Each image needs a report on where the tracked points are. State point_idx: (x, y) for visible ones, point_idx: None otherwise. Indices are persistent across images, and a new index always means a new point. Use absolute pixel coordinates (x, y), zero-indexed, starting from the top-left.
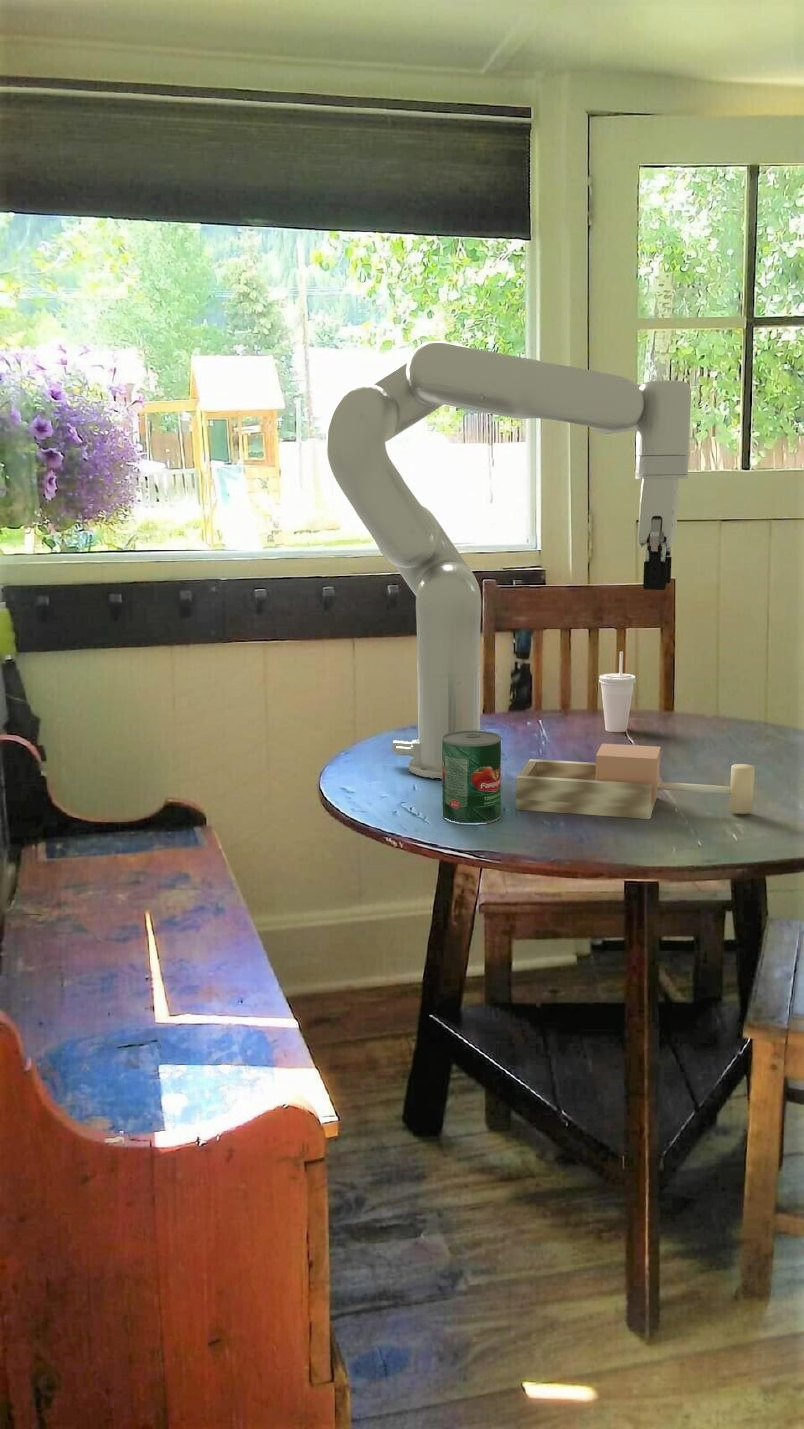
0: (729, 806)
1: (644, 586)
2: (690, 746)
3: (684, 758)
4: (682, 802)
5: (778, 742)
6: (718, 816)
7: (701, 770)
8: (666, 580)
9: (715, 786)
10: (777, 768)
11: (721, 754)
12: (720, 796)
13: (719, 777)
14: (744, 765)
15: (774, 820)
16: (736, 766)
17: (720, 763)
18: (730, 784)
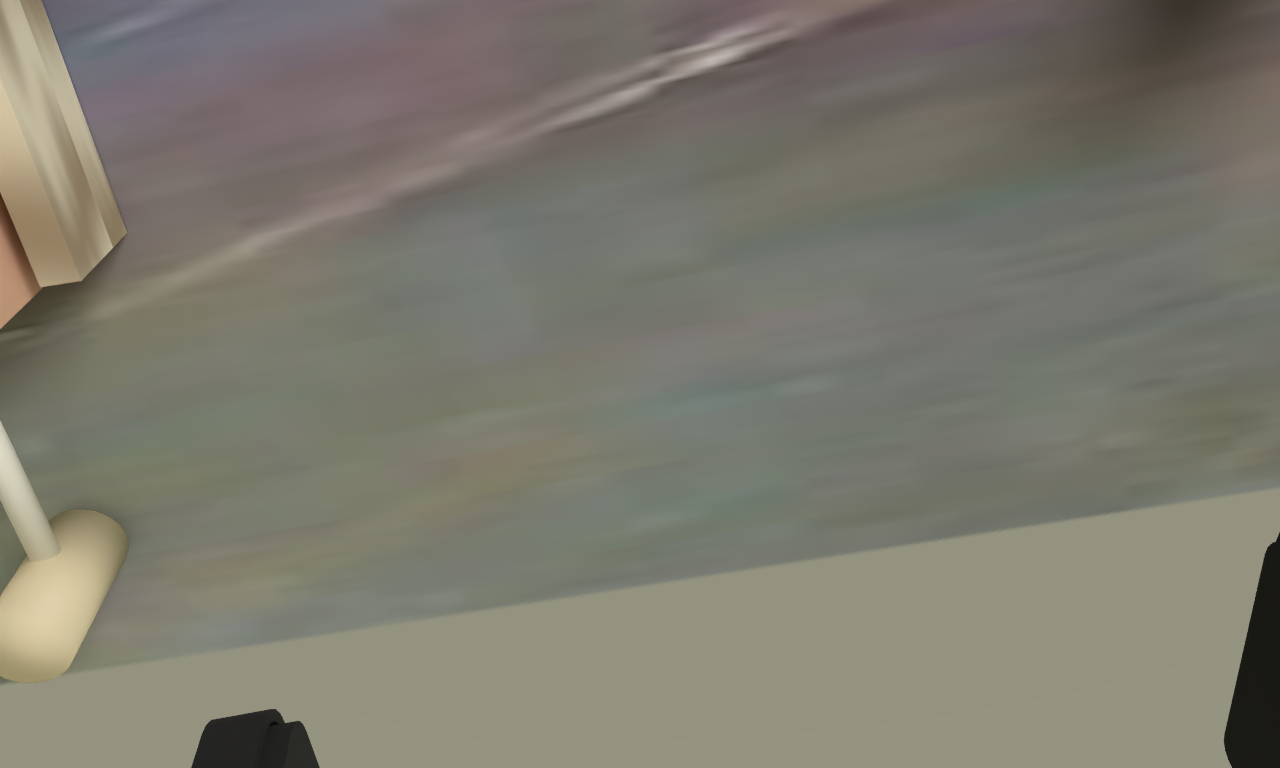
0: (59, 519)
1: (209, 755)
2: (1030, 181)
3: (811, 202)
4: (119, 337)
5: (1146, 467)
6: None
7: (633, 304)
8: (1252, 749)
9: (10, 516)
10: (754, 527)
11: (915, 322)
12: (281, 437)
13: (551, 383)
14: (51, 648)
15: None
16: (13, 629)
17: (768, 346)
18: (31, 567)
